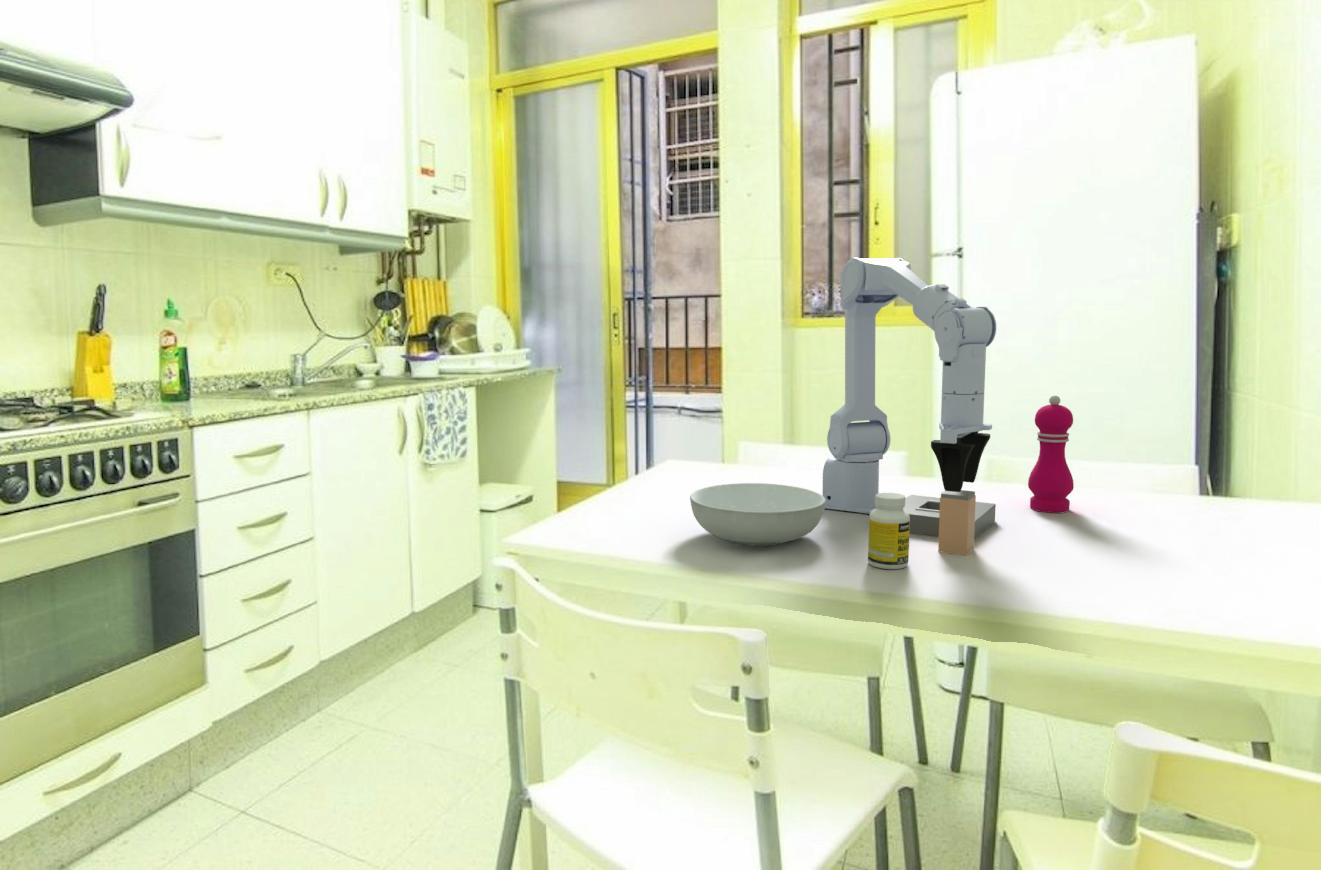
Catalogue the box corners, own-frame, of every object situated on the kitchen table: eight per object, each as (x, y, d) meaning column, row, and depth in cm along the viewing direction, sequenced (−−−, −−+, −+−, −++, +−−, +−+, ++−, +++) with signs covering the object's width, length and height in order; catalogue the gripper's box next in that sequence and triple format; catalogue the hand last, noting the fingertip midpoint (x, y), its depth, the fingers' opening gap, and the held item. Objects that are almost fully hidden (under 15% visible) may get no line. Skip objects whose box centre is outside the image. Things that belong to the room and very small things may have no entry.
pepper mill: (1027, 511, 141) (1032, 397, 138) (1026, 503, 147) (1031, 393, 144) (1074, 515, 138) (1080, 397, 135) (1070, 505, 144) (1076, 394, 142)
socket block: (883, 529, 131) (883, 509, 131) (910, 511, 142) (911, 493, 142) (973, 541, 123) (974, 520, 123) (994, 521, 135) (995, 502, 134)
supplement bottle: (902, 572, 109) (904, 501, 107) (862, 566, 112) (864, 497, 110) (913, 562, 113) (915, 493, 112) (874, 556, 116) (876, 489, 115)
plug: (938, 551, 118) (940, 493, 117) (946, 544, 122) (947, 488, 120) (966, 555, 116) (968, 496, 115) (973, 548, 119) (975, 491, 118)
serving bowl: (812, 563, 114) (813, 515, 113) (672, 550, 121) (671, 506, 120) (834, 527, 133) (834, 486, 132) (712, 518, 141) (711, 479, 140)
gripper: (979, 398, 108) (976, 498, 109) (1003, 389, 119) (1000, 480, 121) (926, 396, 112) (923, 493, 113) (954, 388, 123) (951, 475, 125)
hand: (959, 486), depth 118 cm, fingers open, 7 cm apart
